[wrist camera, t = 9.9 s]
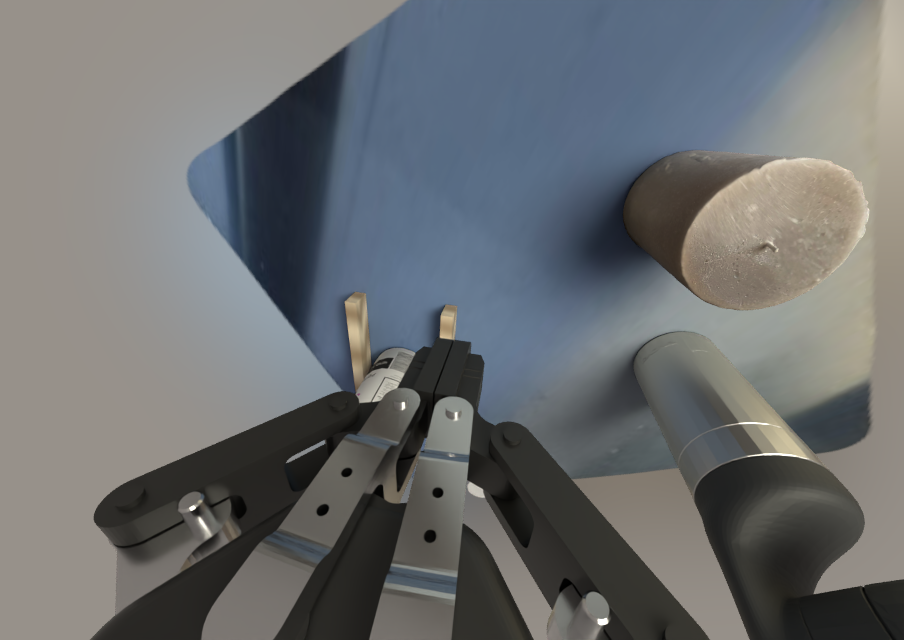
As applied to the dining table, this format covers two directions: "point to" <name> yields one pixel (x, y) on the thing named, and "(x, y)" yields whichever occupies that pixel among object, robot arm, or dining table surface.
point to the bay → (360, 333)
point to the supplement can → (384, 374)
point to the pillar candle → (746, 223)
